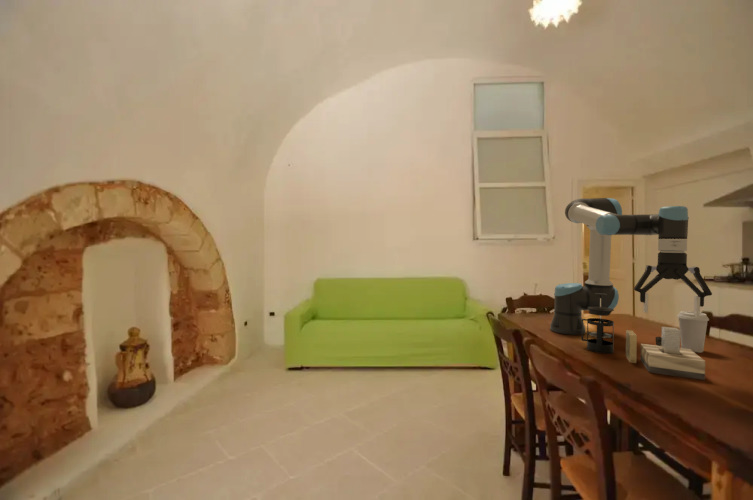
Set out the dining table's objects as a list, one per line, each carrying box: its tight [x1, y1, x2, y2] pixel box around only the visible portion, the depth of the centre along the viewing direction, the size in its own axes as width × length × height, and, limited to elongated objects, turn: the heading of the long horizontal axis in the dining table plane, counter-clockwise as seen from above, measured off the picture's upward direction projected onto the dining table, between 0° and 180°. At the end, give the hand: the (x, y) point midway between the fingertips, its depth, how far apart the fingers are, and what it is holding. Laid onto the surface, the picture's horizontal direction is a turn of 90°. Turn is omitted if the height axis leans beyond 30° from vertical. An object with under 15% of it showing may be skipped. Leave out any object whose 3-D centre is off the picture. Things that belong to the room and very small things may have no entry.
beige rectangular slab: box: [625, 329, 638, 364], centre depth 128 cm, size 8×2×10 cm, turn 152°
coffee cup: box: [677, 310, 710, 354], centre depth 139 cm, size 10×10×15 cm
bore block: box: [639, 343, 706, 381], centre depth 118 cm, size 14×14×6 cm
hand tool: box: [655, 336, 662, 346], centre depth 136 cm, size 19×4×5 cm, turn 155°
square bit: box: [661, 326, 681, 355], centre depth 118 cm, size 4×4×12 cm
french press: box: [581, 293, 615, 355], centre depth 139 cm, size 12×9×23 cm
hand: (670, 314), depth 118 cm, fingers open, 13 cm apart
